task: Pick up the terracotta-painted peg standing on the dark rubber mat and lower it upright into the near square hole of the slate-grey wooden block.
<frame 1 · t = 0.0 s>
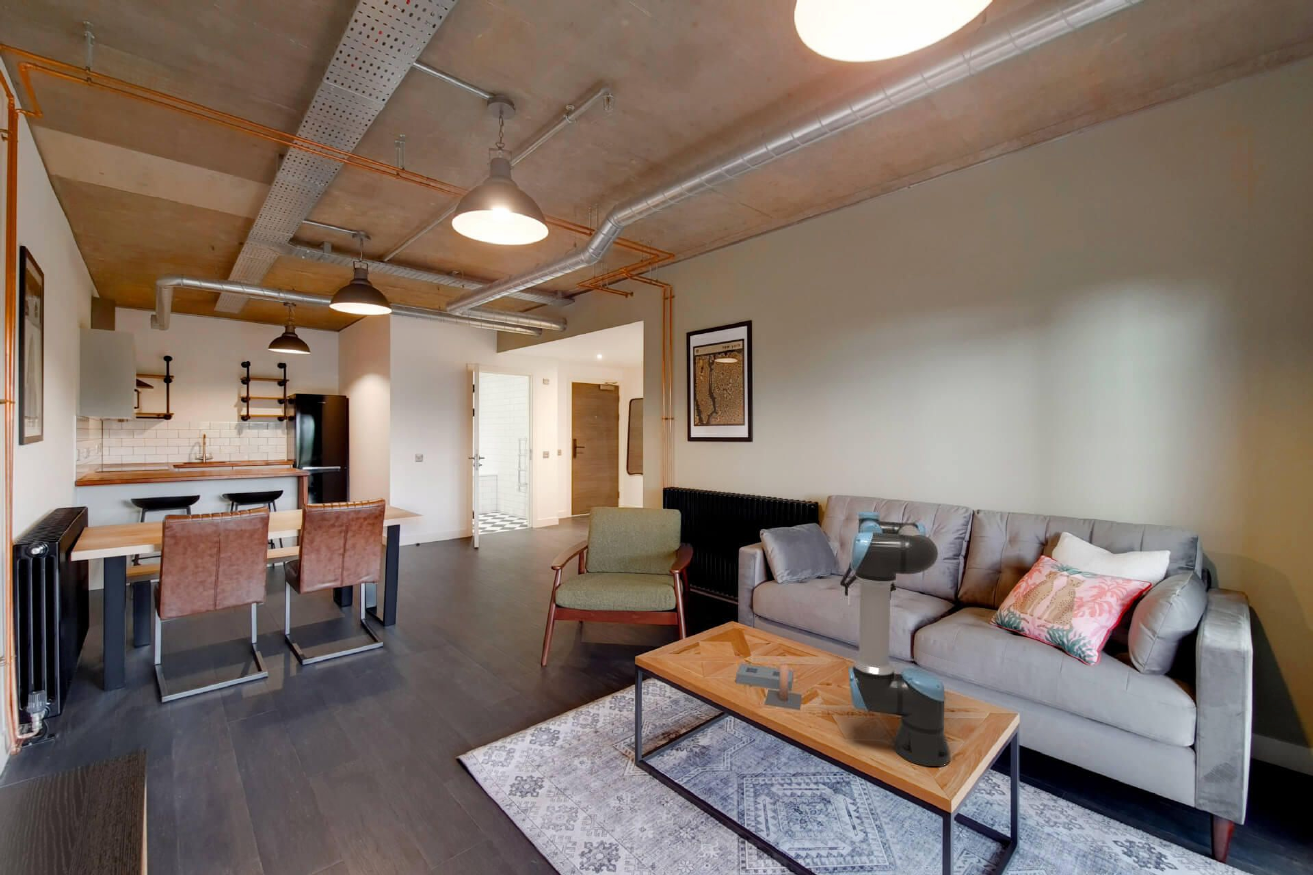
hand: (867, 605, 218), 28 cm above the table, fingers open, 13 cm apart
peg: (783, 699, 199), resting on mat
hole block: (764, 682, 213), on the table
mat: (783, 700, 199), on the table
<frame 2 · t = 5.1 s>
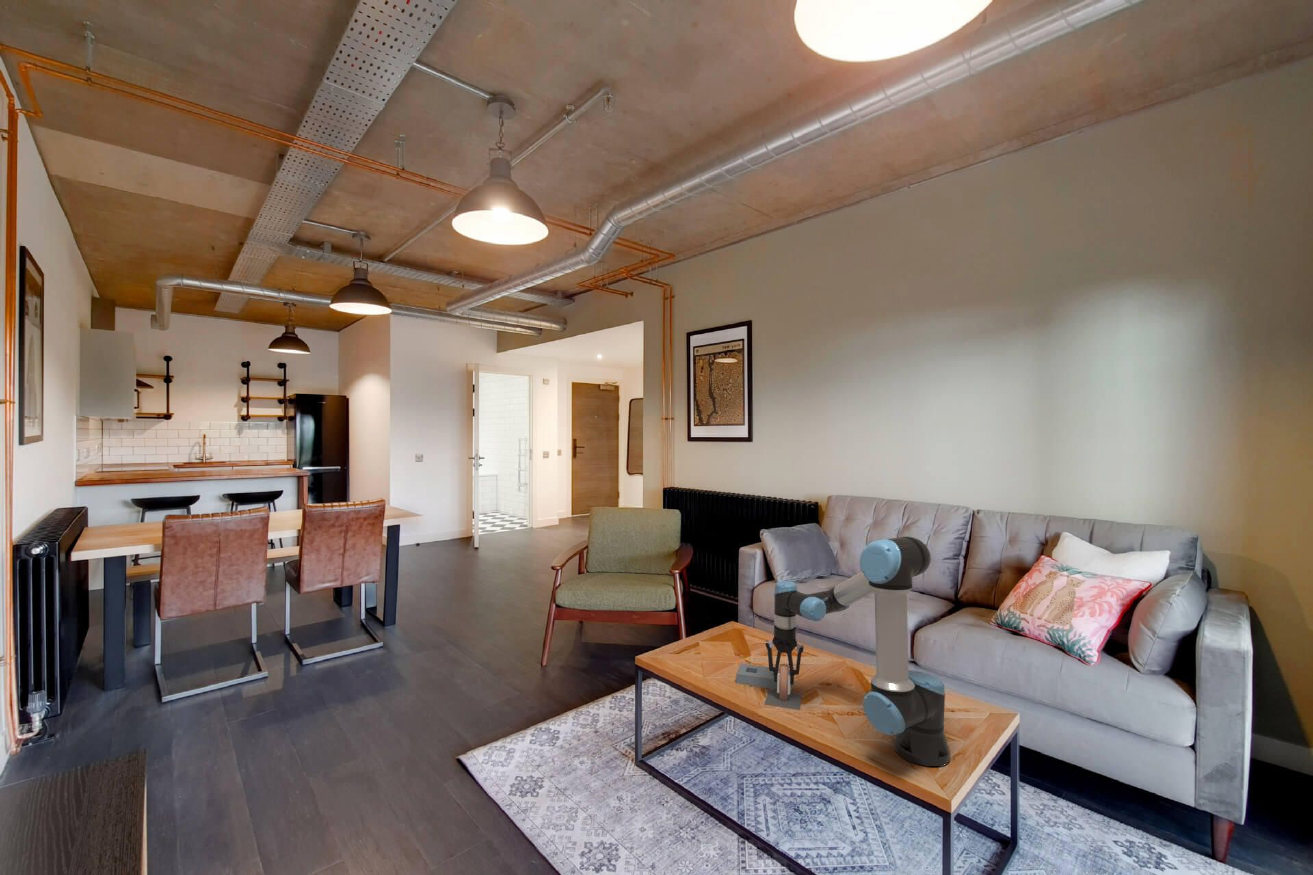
hand: (783, 691, 199), 3 cm above the table, fingers closed on peg, 3 cm apart
peg: (783, 699, 199), resting on mat, touching gripper
when the fingers open (5 cm above the table, at t = 9.6 s): peg drops 1 cm, resting in hole block.
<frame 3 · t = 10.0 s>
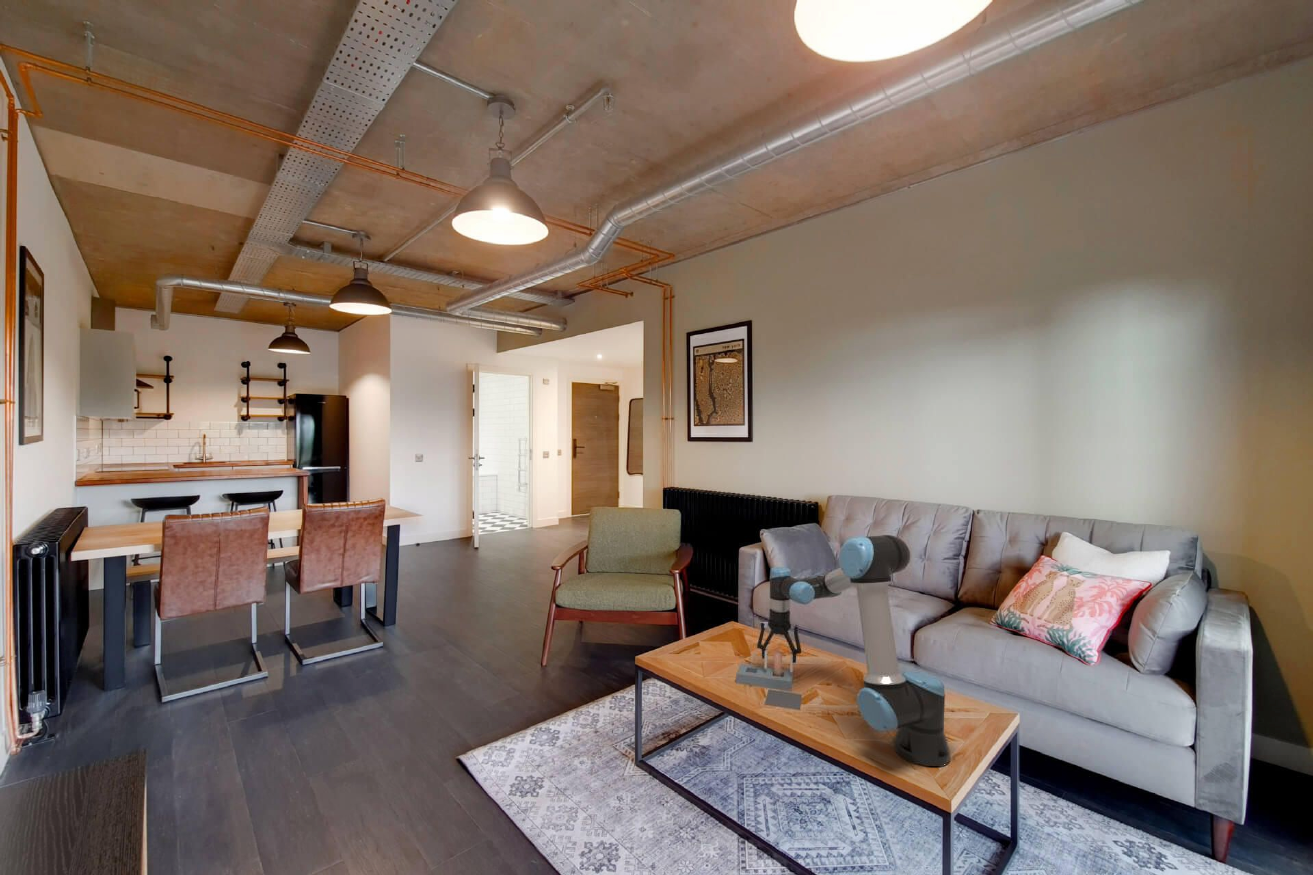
hand: (778, 668, 211), 6 cm above the table, fingers open, 9 cm apart
peg: (777, 684, 211), resting in hole block
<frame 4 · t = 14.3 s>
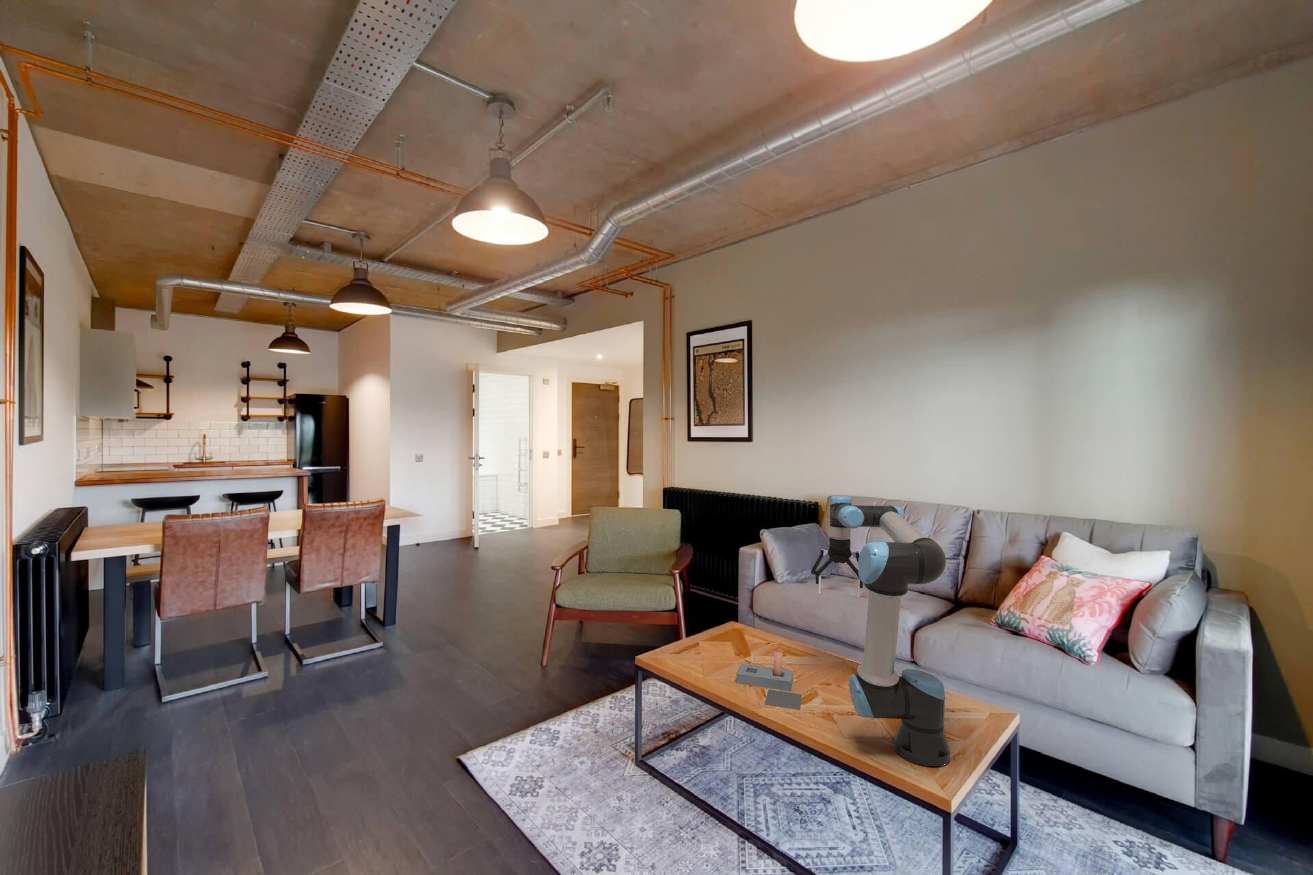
hand: (838, 594, 209), 35 cm above the table, fingers open, 13 cm apart
nothing on the table moved.
at the end: peg 0.2 cm from the target spot on the hole block, point 0.0 cm above the hole block's base; peg tilted 0°; the gripper is holding nothing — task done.
